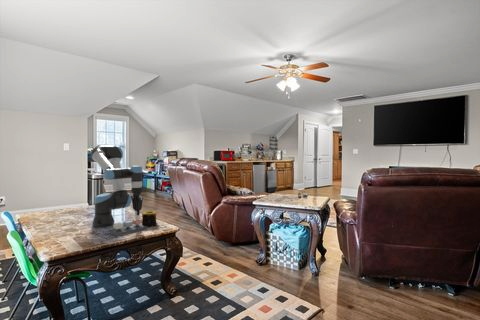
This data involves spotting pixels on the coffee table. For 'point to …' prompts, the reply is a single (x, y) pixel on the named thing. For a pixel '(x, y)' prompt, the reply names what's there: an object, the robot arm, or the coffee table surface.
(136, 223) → the key coral
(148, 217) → the candle
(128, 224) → the key slate
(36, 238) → the coffee table surface
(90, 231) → the coffee table surface
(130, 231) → the keypad base
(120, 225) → the key ivory
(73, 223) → the coffee table surface
